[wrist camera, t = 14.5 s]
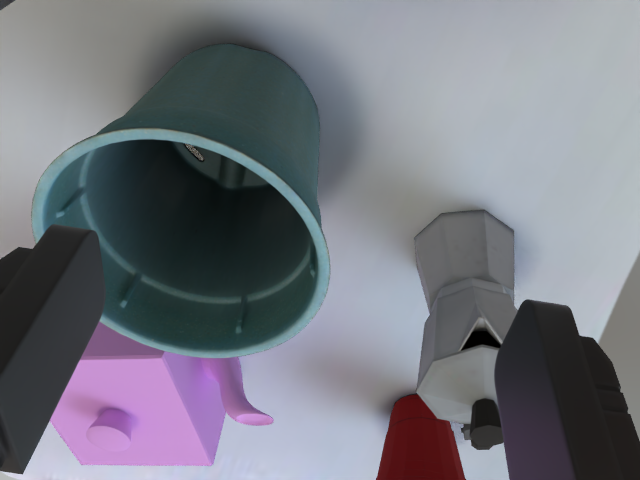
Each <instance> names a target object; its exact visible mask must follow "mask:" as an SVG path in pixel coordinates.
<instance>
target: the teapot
mask: <svg viewBox="0 0 640 480" xmlns="http://www.w3.org/2000/svg"><path fill="white" fill-rule="evenodd" d="M226 412H227V414H228V415H229V416H230V417H231V418H232V419H234V420H235V421H237V422H239V423H243V424H247V425H256V426H259V425H269V424H271V423H273V421H274V420H273V418H272V417H270V416H269V415H267V414H265V413H263V412H261V411H259V410H257V409H256V408H254V407H253V406H252V405H251V404H250V403H249V402H248V401H247V399H246V397H245V394H244V390H243V382H242V373H241V367H240V362H239V359H238V357H231V358H199V357H191V356H184V355H180V354H175V353H170V352H166V351H163V350H159V349H156V348H153V347H150V346H147V345H144V344H142V343H139V342H137V341H135V340H133V339H131V338H129V337H127V336H124V335H122V334H120V333H118V332H116V331H115V330H113V329H111V328H109V327H107V326H106V325H104V324H103V323H101V322H99V323H98V325H97V327H96V329H95V331H94V333H93V335H92V337H91V339H90V341H89V343H88V345H87V347H86V349H85V351H84V353H83V355H82V357H81V359H80V361H79V363H78V365H77V367H76V369H75V371H74V373H73V375H72V377H71V379H70V381H69V383H68V385H67V387H66V389H65V391H64V393H63V395H62V397H61V399H60V401H59V403H58V405H57V407H56V409H55V411H54V413H53V415H52V417H51V419H50V422H51V423H52V425H53V426H54V428H55V429H56V430H57V432H58V433H59V435H60V436H61V437H62V439H63V440H64V442H65V443H66V444H67V446H68V447H69V449H70V450H71V451H72V453H73V454H74V456H75V457H76V458H77V460H78V461H79V462H80V464H81V465H195V466H211V465H212V464H213V463H214V459H215V455H216V451H217V447H218V443H219V439H220V435H221V430H222V426H223V422H224V418H225V414H226Z"/></svg>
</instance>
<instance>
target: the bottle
mask: <svg viewBox="0 0 640 480" xmlns="http://www.w3.org/2000/svg"><path fill="white" fill-rule="evenodd" d="M13 1H15V0H0V10H1V9H3V8H4V7H6V6H7V5H9V4H10V3H12V2H13Z"/></svg>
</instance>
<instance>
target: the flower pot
mask: <svg viewBox="0 0 640 480" xmlns="http://www.w3.org/2000/svg"><path fill="white" fill-rule="evenodd" d="M319 132H320V122H319V115H318V110H317V107H316V104H315V101H314V99H313V97H312V95H311V93H310V91H309V90H308V88H307V86H306V85H305V83H304V82H303V81H302V79H301V78H300V77H299V76H298V75H297V74H296V73H295V72H294V71H293V70H292V69H291V68H290V67H289V66H288V65H287V64H285V63H284V62H283V61H281V60H280V59H278V58H277V57H275V56H273V55H271V54H269V53H267V52H263V51H257V50H252V49H249V48H245V47H241V46H238V45H235V44H217V45H211V46H207V47H204V48H201V49H199V50H196V51H194V52H192V53H190V54H189V55H187V56H185V57H184V58H183V59H181V60H180V61H179V62H178V63H177V64H176V65H175V66H174V67H173V68H172V69H171V70H170V71H168V72H167V73H166V74H165V75H164V76H163V78H162V79H161V80H160V81H159V82H158V83H157V84H156V85H155V86H153V87H152V88H151V89H150V90H149V91H148V92H147V93H146V94H145V95H144V96H143V97H142V98H141V99H140V100H139V101H138V102H137V103H136V104H135V105H134V106H133V107H132V108H131V109H130V110H129V111H128V112H127V113H126V114H125V115H124V116H123V117H121V118H119V119H117V120H115V121H113V122H112V123H110V124H109V125H107V126H106V127H104V128H103V129H102V130H101V131H99V132H98V133H97V134H96V135H94V136H91V137H89V138H86V139H84V140H82V141H80V142H78V143H77V144H75V145H73V146H72V147H70V148H69V149H67V150H66V151H64V152H63V153H62V154H61V155H59V156H58V157H57V158H56V159H55V160H54V161H53V162H52V163H51V164H50V165H49V166H48V168H47V169H46V170H45V172H44V173H43V175H42V176H41V178H40V180H39V182H38V184H37V187H36V190H35V194H34V197H33V202H32V212H31V220H32V229H33V235H34V239H35V243H36V244H37V243H38V241H39V240H40V238H41V237H42V235H43V234H44V233H45V231H46V230H47V229H48V227H50V226H51V225H53V224H57V225H63V226H70V227H76V228H83V229H89V230H94V231H96V233H97V234H98V238H99V244H100V251H101V258H102V265H103V272H104V279H105V287H106V298H105V304H104V309H103V313H102V316H101V318H100V321H99V322H101V323H103V324H104V325H106V326H107V327H109V328H111V329H113V330H115V331H116V332H118V333H120V334H122V335H124V336H127V337H129V338H131V339H133V340H135V341H137V342H139V343H142V344H144V345H147V346H150V347H153V348H156V349H159V350H163V351H166V352H170V353H175V354H180V355H184V356H191V357H199V358H231V357H239V356H245V355H250V354H254V353H258V352H261V351H265V350H268V349H270V348H273V347H275V346H278V345H280V344H282V343H284V342H286V341H287V340H289V339H291V338H292V337H294V336H295V335H296V334H298V333H299V332H300V331H301V330H302V329H303V328H304V327H306V325H307V324H308V323H309V322H310V321H311V320H312V319H313V317H314V316H315V315H316V313H317V312H318V310H319V308H320V306H321V305H322V303H323V301H324V298H325V296H326V293H327V290H328V284H329V279H330V259H329V252H328V247H327V244H326V240H325V237H324V234H323V231H322V229H321V215H320V209H319V205H318V202H317V186H318V159H319ZM183 143H186V144H190V145H193V146H194V147H195V148H196V149H197V151H198V152H199V153H200V154H201V155H202V156H203V157H204V159H205V160H204V161H203V162H201V161H199V160H197V159H196V158H195V157H194V156H193V155H192V154H191V153H190V152H189V150H188V149H187V148H186V147H185V145H184V144H183Z"/></svg>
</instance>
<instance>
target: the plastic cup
mask: <svg viewBox="0 0 640 480" xmlns="http://www.w3.org/2000/svg"><path fill="white" fill-rule="evenodd" d="M376 480H466V479H465V476H464V472H463V468H462V464H461V460H460V457H459V453H458V449H457V445H456V441H455V437H454V433H453V431H452V429H451V425H450V421H447V420H442V419H438V418H437V417H436V416H435V415H434V413H433V412H432V411H431V410H430V408H429V407H428V406H427V405H426V403H425V402H424V401H423V400H422V399H421V397H420V396H419V395H418V394H416V395H408V396H406V397H403V398H401V399H399V400H398V401H397V402H396V403H395V405H394V407H393V410H392V413H391V416H390V422H389V427H388V432H387V434H386V438H385V443H384V447H383V452H382V457H381V462H380V466H379V471H378V476H377V478H376Z"/></svg>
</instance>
